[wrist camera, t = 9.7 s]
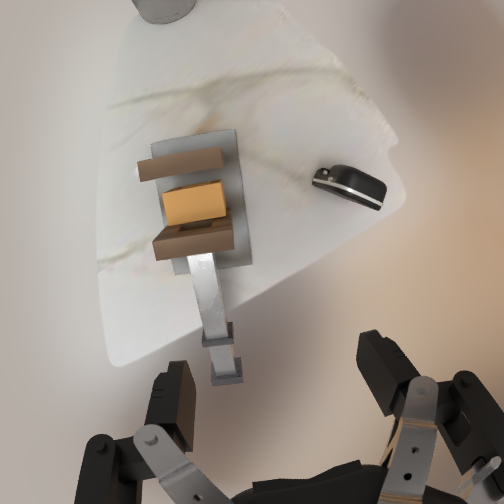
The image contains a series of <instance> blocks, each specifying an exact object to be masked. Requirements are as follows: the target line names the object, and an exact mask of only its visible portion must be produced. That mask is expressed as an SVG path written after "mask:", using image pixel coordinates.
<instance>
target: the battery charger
mask: <svg viewBox="0 0 504 504" xmlns="http://www.w3.org/2000/svg"><path fill="white" fill-rule="evenodd" d="M312 185H313V186H315V187H318V188H320V189H323V190H325V191H328V192H330V193H333V194H335V195H338V196H340V197H343V198H345V199H347V200H350V201H353V202H356V203H358V204H361V205H364V206H366V207H369V208H372V209H374V210H377V211H379V210H380V209H381V207H382V205H383V201H384V198H385V195H386V192H387V187H386V185H385V184H384V183H383V182H382V181H380V180H378V179H376V178H374V177H372V176H370V175H368V174H366V173H364V172H362V171H360V170H358V169H356V168H353V167H350V166H346V165H334V166H333V167H332V168H331V170H328V169H325V168H321V169H319V170H318V171H317V173H316V174H315V177H314V178H313V183H312Z"/></svg>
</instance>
